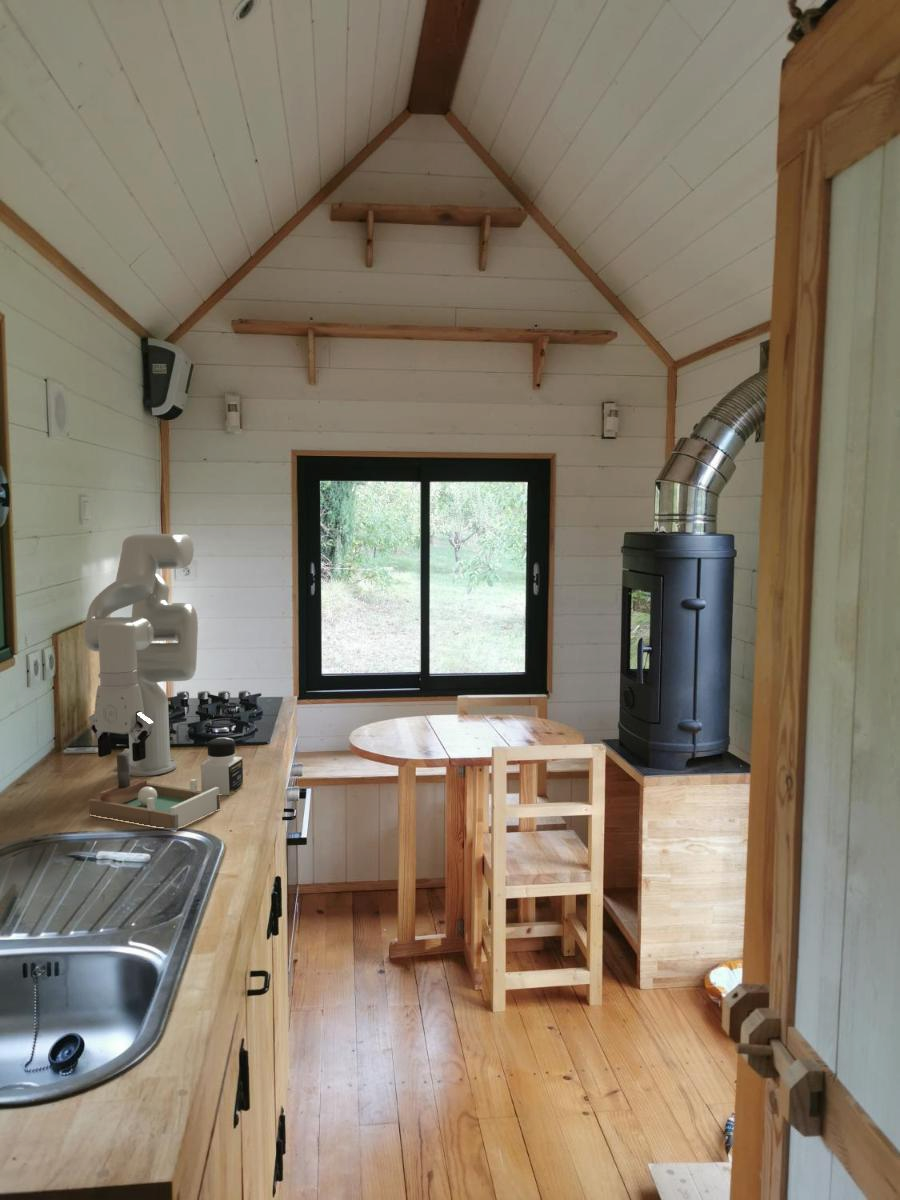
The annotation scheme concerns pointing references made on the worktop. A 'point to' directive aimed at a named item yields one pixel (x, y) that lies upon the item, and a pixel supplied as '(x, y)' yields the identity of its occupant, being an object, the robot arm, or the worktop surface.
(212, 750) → the medicine bottle
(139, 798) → the ball
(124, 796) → the striker
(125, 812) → the pitch
